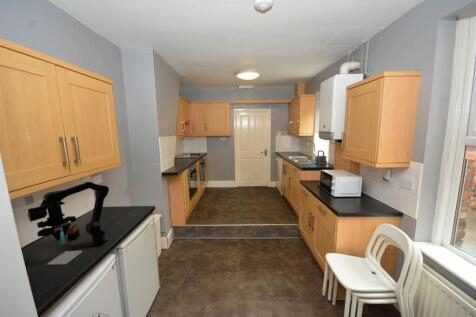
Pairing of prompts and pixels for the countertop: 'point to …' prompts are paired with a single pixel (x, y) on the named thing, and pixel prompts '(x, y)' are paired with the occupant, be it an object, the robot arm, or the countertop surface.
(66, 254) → the notepad
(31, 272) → the countertop surface
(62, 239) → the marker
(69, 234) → the battery
